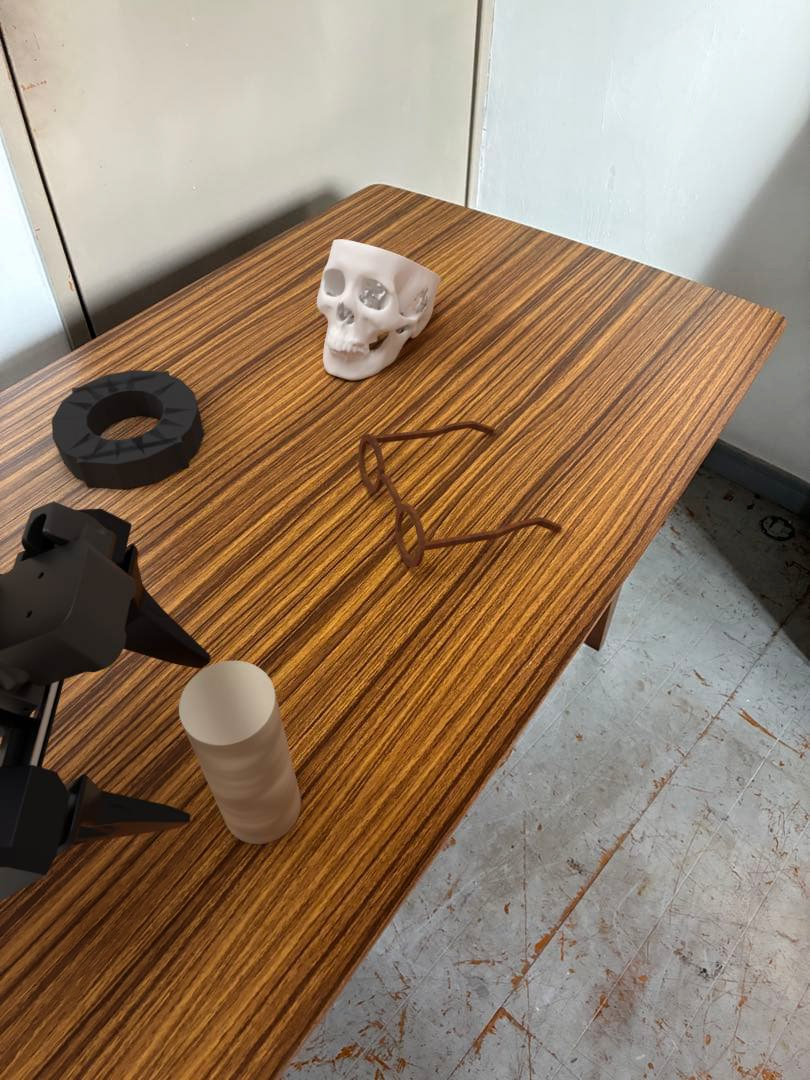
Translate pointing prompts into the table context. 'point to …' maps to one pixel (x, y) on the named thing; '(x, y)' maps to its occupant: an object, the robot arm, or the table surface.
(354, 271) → the skull bowl
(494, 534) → the glasses
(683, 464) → the table surface
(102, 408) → the black thick flat ring
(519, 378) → the table surface
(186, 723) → the beige cylinder
